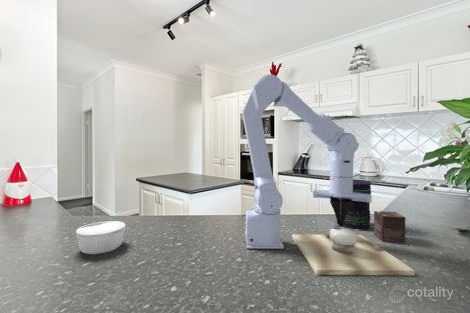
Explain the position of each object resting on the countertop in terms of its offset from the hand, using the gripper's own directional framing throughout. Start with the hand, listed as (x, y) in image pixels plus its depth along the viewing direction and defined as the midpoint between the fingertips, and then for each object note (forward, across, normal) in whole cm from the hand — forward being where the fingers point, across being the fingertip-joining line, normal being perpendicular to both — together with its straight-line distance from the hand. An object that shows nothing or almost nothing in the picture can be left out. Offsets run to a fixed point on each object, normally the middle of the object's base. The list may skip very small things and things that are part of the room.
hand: (340, 225), depth 65 cm
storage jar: (+5, -4, -18) cm, 19 cm away
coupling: (+1, +1, +5) cm, 5 cm away
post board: (+5, -1, +8) cm, 9 cm away
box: (+5, -13, -9) cm, 16 cm away
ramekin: (+5, +56, +31) cm, 64 cm away
